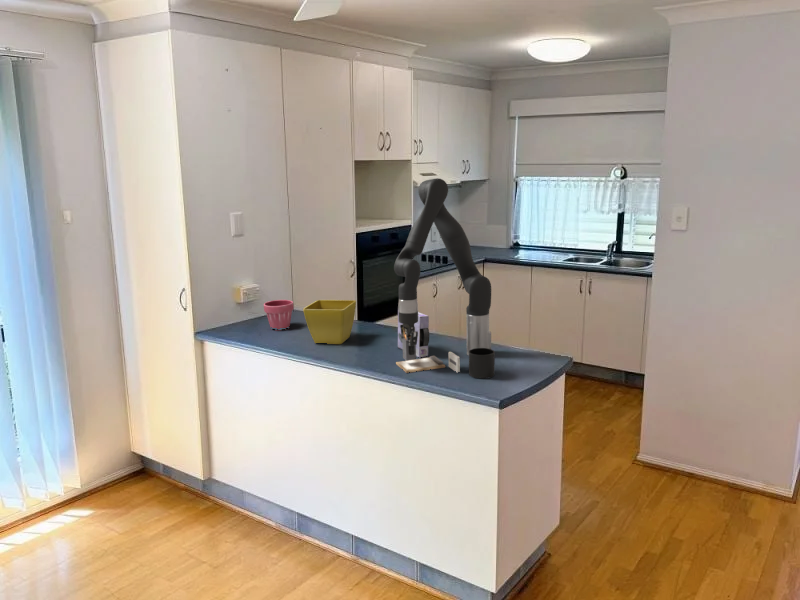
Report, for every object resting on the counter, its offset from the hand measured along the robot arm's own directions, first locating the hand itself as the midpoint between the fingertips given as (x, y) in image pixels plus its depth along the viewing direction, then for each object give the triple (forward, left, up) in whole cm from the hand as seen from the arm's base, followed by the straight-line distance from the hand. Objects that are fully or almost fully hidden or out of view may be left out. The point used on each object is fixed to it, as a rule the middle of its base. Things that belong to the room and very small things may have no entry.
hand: (409, 352), depth 253 cm
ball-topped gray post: (0, 0, -2) cm, 2 cm away
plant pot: (+37, -83, -6) cm, 91 cm away
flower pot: (+19, -50, -6) cm, 54 cm away
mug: (-22, +20, -6) cm, 30 cm away
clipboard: (-4, +1, -6) cm, 7 cm away
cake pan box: (-8, -17, -6) cm, 20 cm away
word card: (-14, +11, -6) cm, 19 cm away
